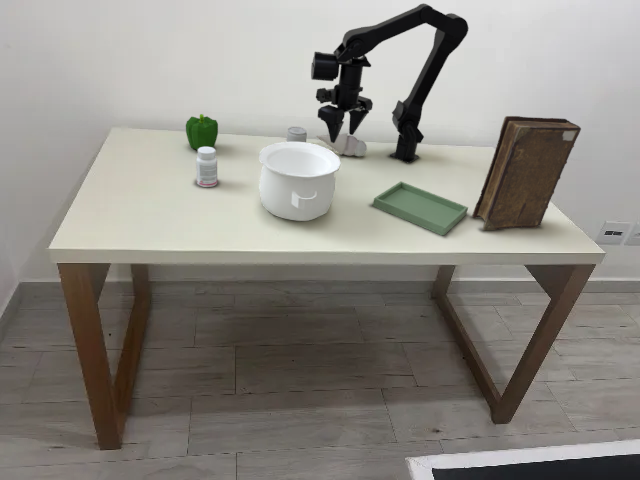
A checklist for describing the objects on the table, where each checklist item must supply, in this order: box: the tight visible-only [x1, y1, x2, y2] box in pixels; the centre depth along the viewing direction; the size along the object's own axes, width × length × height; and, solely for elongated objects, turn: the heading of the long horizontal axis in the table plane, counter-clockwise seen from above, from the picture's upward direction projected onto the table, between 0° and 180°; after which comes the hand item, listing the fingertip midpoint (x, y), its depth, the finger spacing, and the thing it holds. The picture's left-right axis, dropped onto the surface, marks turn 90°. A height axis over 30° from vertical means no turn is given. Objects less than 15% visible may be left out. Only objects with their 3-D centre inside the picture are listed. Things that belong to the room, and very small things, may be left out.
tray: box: [372, 181, 469, 236], centre depth 117 cm, size 13×18×2 cm
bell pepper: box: [185, 113, 219, 152], centre depth 131 cm, size 8×8×10 cm
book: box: [471, 115, 582, 231], centre depth 110 cm, size 17×7×25 cm, turn 99°
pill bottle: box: [195, 147, 218, 188], centre depth 115 cm, size 5×5×8 cm
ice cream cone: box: [315, 132, 368, 157], centre depth 139 cm, size 6×6×15 cm
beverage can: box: [285, 126, 308, 143], centre depth 123 cm, size 5×5×12 cm
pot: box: [258, 141, 342, 222], centre depth 109 cm, size 22×17×12 cm
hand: (342, 138), depth 139 cm, fingers open, 9 cm apart
